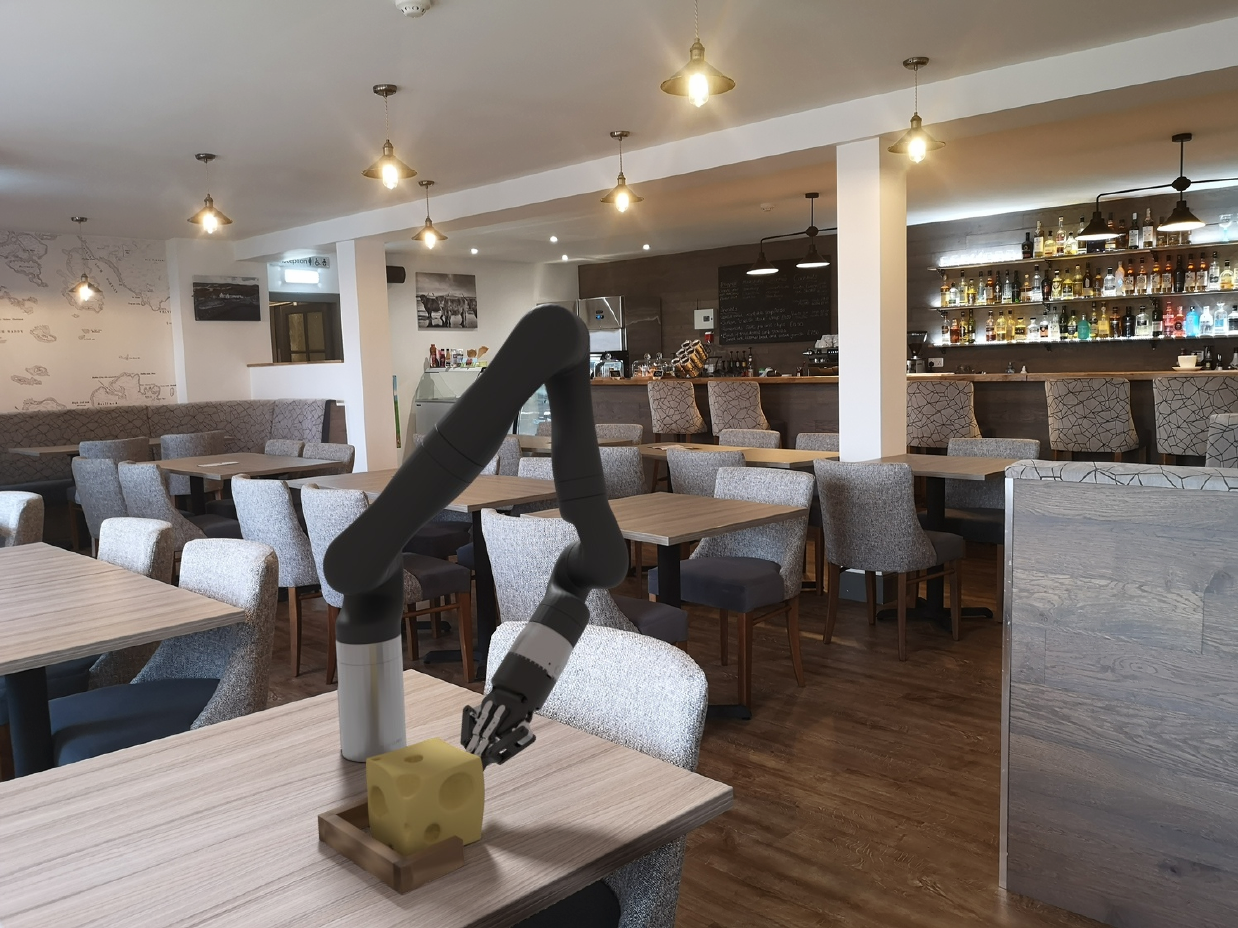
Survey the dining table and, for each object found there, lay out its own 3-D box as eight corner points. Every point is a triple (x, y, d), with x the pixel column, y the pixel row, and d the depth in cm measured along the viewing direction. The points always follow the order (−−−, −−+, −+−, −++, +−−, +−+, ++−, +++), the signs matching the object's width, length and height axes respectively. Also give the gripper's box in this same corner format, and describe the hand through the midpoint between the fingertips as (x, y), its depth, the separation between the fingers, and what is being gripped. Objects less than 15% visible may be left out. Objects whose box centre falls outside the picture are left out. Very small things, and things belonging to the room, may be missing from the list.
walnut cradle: (319, 838, 110) (317, 814, 110) (378, 815, 116) (377, 792, 116) (401, 894, 98) (400, 867, 97) (464, 865, 103) (462, 839, 103)
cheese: (407, 870, 103) (402, 783, 102) (365, 836, 111) (360, 755, 110) (488, 838, 109) (484, 756, 108) (442, 808, 117) (438, 731, 116)
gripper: (484, 641, 124) (410, 758, 116) (550, 660, 115) (474, 789, 107) (517, 670, 128) (447, 785, 120) (583, 690, 119) (512, 816, 111)
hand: (460, 787), depth 114 cm, fingers closed
